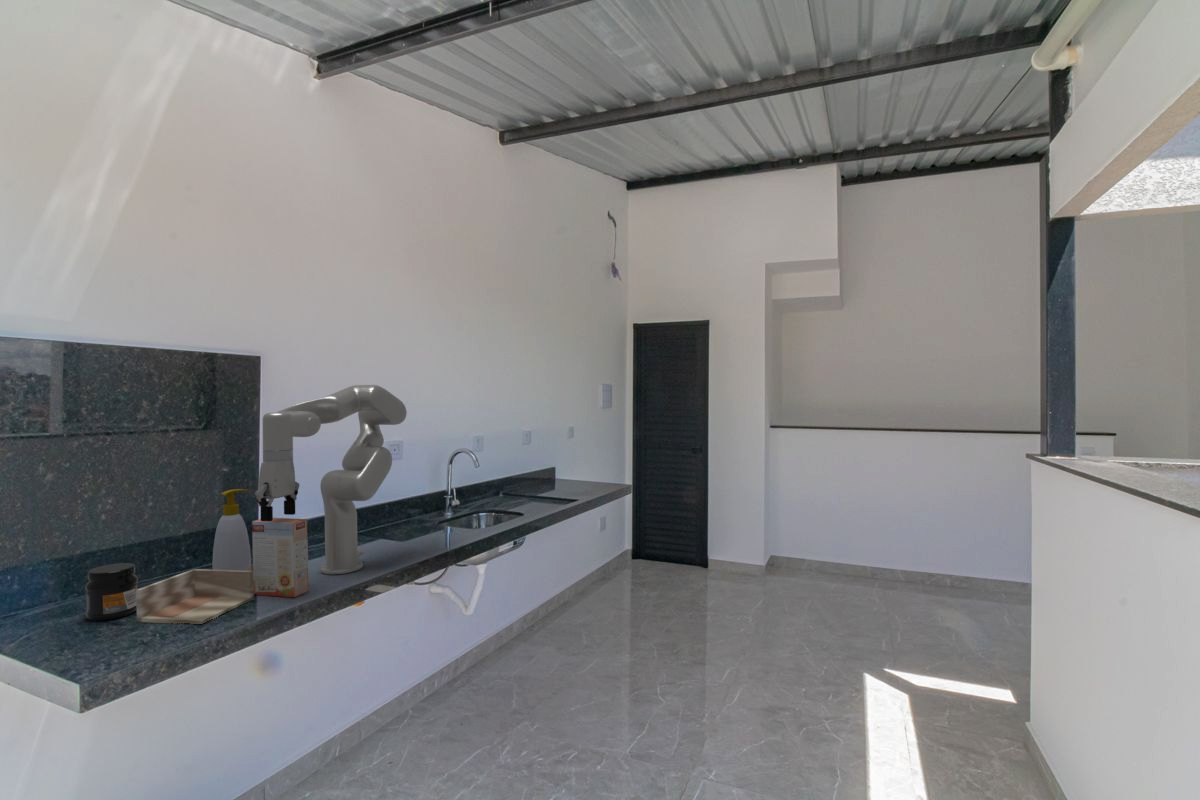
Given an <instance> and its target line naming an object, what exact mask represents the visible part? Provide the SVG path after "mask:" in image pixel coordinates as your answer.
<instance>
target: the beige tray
mask: <svg viewBox="0 0 1200 800" xmlns="http://www.w3.org/2000/svg"><path fill="white" fill-rule="evenodd" d="M254 595H255V594H254V593H253V570H252V571H243V570H213V569H209V568H194V569H193V568H192V569H190V570H187V571H184V572H182V573H179V574H176V575H173V576H170V577H168V578H165V579H163V580H160V581H157V582H153V583H152V584H148V585H146V586H142V587H140V588H137V590H136V604H137V610H136V622H137V623H150V624H151V623H153V624H171V623H173V624H175V625H185V624H184V623H190V624H189V625H193V624H203V623H205V622H207V621H209V620H211V619H213V620H215V619H217V618H219V617H218V616H219V615H221V614H223V613H225V612H227V611H229V610H231V609H233V608H236V607H238V606H240V605H242V604H244V603H246V602H248V603H250V602H249V601H251V600H253V599H254ZM253 601H254V600H253ZM251 602H252V601H251ZM246 604H247V603H246ZM244 605H245V604H244ZM242 606H243V605H242ZM240 607H241V606H240ZM238 608H239V607H238ZM236 609H237V608H236ZM216 617H217V618H216ZM214 618H215V619H214ZM211 621H212V620H211ZM209 622H210V621H209ZM177 623H178V624H177ZM179 623H180V624H179ZM181 623H183V624H181ZM207 623H208V622H207ZM205 624H206V623H205ZM203 625H204V624H203Z"/></svg>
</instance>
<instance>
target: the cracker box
mask: <svg viewBox="0 0 1200 800" xmlns="http://www.w3.org/2000/svg"><path fill="white" fill-rule="evenodd" d="M251 528H252V529H251V534H252V536H251V537H252V568H253V570H252V571H253V595H255V594H256V595H257V596H267V597H268V596H269V597H270V596H271V597H280V596H281V597H282V598H291V597H294V598H296V597H298V596H301V594H302V595H303V594H306V593H309V553H308V551H309V547H308V544H309V543H308V519H307V518H288V517H287V518H286V517H273V520H272V521H261V518H259V519H256V520H252V522H251Z"/></svg>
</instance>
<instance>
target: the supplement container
mask: <svg viewBox="0 0 1200 800" xmlns="http://www.w3.org/2000/svg"><path fill="white" fill-rule="evenodd" d="M135 573H136V565H135V564H134V563H127V562H123V563H122V562H121V563H113V564H107V565H102V566H97V567H94V568H92V569H89V571H88V572H87V580H88V582H87V583H86V584H85V594H86V595H85V597H86V599H85V600H86V613H85V614H86V615H85V616H86V617H87V619H88V620H90V621H96V622H104V621H110V620H111V621H112V620H115V619H120V618H124V617H127V616H129V615H132V614H133V613H134V612H137V604H136V590H137V589H138V581H139V577H138V576H137V575H136V574H135Z"/></svg>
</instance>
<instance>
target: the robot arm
mask: <svg viewBox="0 0 1200 800" xmlns="http://www.w3.org/2000/svg"><path fill="white" fill-rule="evenodd" d="M356 413H357V416H358V422H359V434H358V436H357V438H356V439H355V441H354V442H353V443H352V444H351V446H350V447H349V449H348V450H347V452H346V453H345V455H344V456H343V459H342V462H341V466H342V469H335V470H330V471H328V472H327V473H325V474H324V475H323V476H322V478H321V480H320V485H319V487H320V493H321V494H320V495H321V498H322V501H323V502H322V503H323V509H324V510H323V511H324V512H323V513H324V545H325V546H324V548H325V550H324V552H325V553H324V554H325V555H324V556H325V558H324V559H325V564H323V565H321V566H320V571H319V572H320V573H322V574H325V575H343V574H349V573H353V572H357V571H360V570H362V568H363V567H364V562H362V560H359V557H362V556H363V555H364V551H363V550H362V549H358V512H357V509H356V505H355V504H354V502H366V501H369V500H370V499H372V498H373V497H374V496H375V494H376V493H377V491H378V490H379V489H380V487H381V485H382V484H383V483H384V481H385V479H386V477H387V476H388V474H389V473H390V471H391V468H392V463H393V456H392V453H391V451H390V450H389V449H388V448H387V447H384V438H385V437H384V435H383V433H382V431H381V427H380V425H381V426H382V425H386V426H387V425H388V426H389V425H390V426H392V425H393V426H395V425H400V424H401V423H403V422H404V421H405V419H406V418H407V408H406V405H405V403H404V402H403V401H402V400H400V399H399V398H398V397H397V396H395V395H394V394H393V393H391V392H390V391H388V390H387V389H385V388H383V386H379V385H377V384H363V385H361V384H360V385H359V384H358V385H357V384H355V385H351V386H348V387H346V388H344V389H341V390H339V391H336V392H334V393H331V394H330V395H326V396H323V397H319V398H316V399H315V398H314V399H312V400H308V401H304V402H300V403H297V404H294V405H293V404H292V405H291V406H287V407H285V408H283V409H281V410H279V411H276V412H267V413H265V414H263V416H262V462H261V465H260V469H259V474H258V475H259V476H258V489H257V490H256V491H255V492H254V495H255V498H256V502H257V503H258V507H260V519H261V521H272V520H273V518H274V517H273V516H274V515H273V511H274V510H273V509H274V508H273V506H272V503H273V502H274V499H280V498H284V499H285V500H283V515H287V516H289V515H290V516H292V515H296V501H297V498H298V497H297V495H298V494H299V489H300V483H299V482H297V481H296V473H295V472H296V471H295V465H294V438H308V437H309V438H310V437H313V436H314V435H316V434H317V433H319V431H320V429H321V425H324V424H332V423H336V422H337V423H338V422H339V421H341V420H343V419H345V418H348V417H350V416H352V415H354V414H356Z"/></svg>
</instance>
